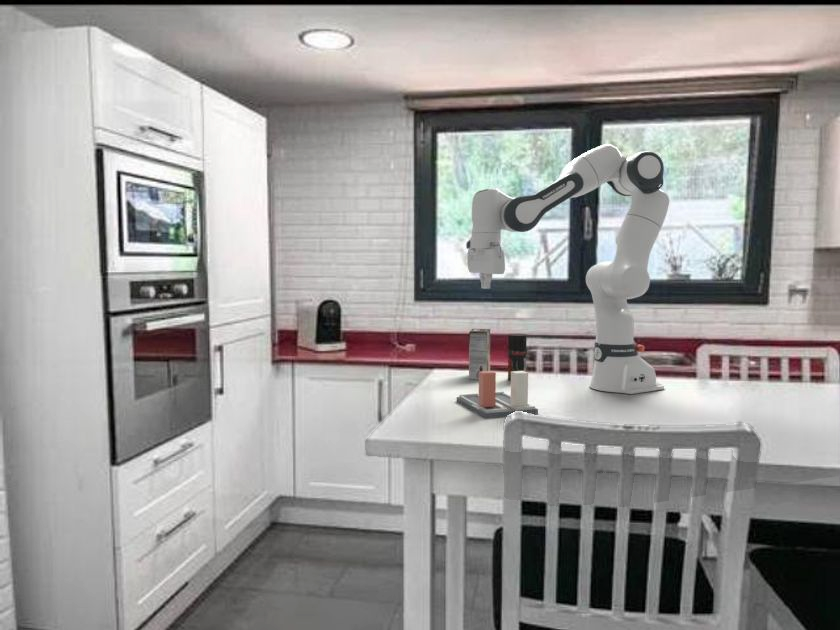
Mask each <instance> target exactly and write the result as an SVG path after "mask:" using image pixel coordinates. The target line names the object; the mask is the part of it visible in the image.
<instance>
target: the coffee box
mask: <svg viewBox="0 0 840 630" xmlns="http://www.w3.org/2000/svg"><path fill="white" fill-rule="evenodd" d="M468 334H469V335H468V359H469V360H468V379H469V380H479V371H491V328H472V329H471V330H469V332H468Z"/></svg>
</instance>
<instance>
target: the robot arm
mask: <svg viewBox="0 0 840 630" xmlns="http://www.w3.org/2000/svg"><path fill="white" fill-rule="evenodd" d="M664 169H665V168H664V162H663V160H662V158H661V157H660V155H659V154H658V153H655V152H653V151H640V152H636V153H635V154H633V155H632V156H629V157H625V156H623V155H622V154H621V151H620V150H619V149H618V147H616V146H614V145H612V144H603V145H600V146H597V147H595V148H591V149H590V150H587V152H586V151H585V152H584V153H582V154H581V155H579V156H577V157H575V158H574V159H573V160H571V161H569V162H567V164H566V165H565V166H564V167H562V169H561V170H560V172H559V176H558V178H557V179H555V181H554V182H552V183H550V184H549V185H547V186H545V187H543V188H542V189H541V190H539V191H537V192H536V193H534V194H531V195H521V196H518V197H515V198H514V197H511V196H509V195H507V194H505V193H503V192H502V191H501V190H500V189H499V188H497V187H493V188H485V189H482V190H478V191H477V192H476V193H475V194H474V195H473V197H472V203H471V204H472V205H471V222H472V229H471V236H470V238H469V239H468V240H467V241H466V245H465V248H466V249H467V256H466V257H467V269H468V271H469V273H471V274H472V273H473V274H478V275H479V276H478V277H479V280H480V283H481V284H480V285H481V287H480V288H481V289H485V290H486V289H488V290H489V289H491V282H492V280H493V275H504V274H505V271H506V261H505V252H504V250H503V248H502V244H501V242H502V240H501V238H502V237H501V236H502V233H501V232H502V230H504V231H507V232H511V233H517V232H518V233H521V232H522V233H526V232H528V231H531V230H533V229H534V228H535V227H536V226H537V225H538V223H539V222H540V221H541V219H542V218H543V216H545V214H546V213H548V212H549V211H551V210H552V209H554V208H556V207H557V206H559V205H560V204H562V203H563V202H565V201H568V200H569V199H571V198H578V197H581V196H584V195H586V194H588V193H590V192H592V191H595V189H598V188H599V187H600V186H602V185H603V184H608V185H609V186H610V187H611V188H612V190H613V191H614V192H615V193H616V194H618V196H623V197H631V202H630V207H629V209H628V211H627V212H626V215H625V216H624V219H623V222H622V223H621V225H620V227H619V230H618V232H617V234H616V236H615V244H616V252H615V255H614V259H613V261H603V262H599V263H597V264H595V265H592V266H591V267H590V268H589V269H588V270H587V272H586V275H585V283H586V286H587V288H588V289H589V291H590V294H591V297H592V302H593V306H594V311H595V320H596V322H595V323H596V324H595V327H596V328H595V341H594V349H593V355H594V363H593V364H594V365H593V371H592V377H591V380H590V383H589V388H591V389H592V390H593V389H594V390H596V391H602V392H607V393H608V392H609V393H621V394H629V395H634V394H641V393H646V392H652V391H653V392H655V391H660V390H664V389H665V386H664V385H663V383H660V382H657V377H656V376H657V374H656V370H655V368H654V367H653V366H652V365H651V364H650V363H648V361H646V360H644V359H643V358H642V357H641V356H639V353H638V352H642V353H643V352H644V351H645V349H646V348H645V345H643V344H636V343H635V342H634V333H635V331H634V329H635V328H634V327H635V319H634V316H633V314H632V313H631V311H630V309H629V305H628V301H627V300H632V299H636V298H639V297H641V296H643V295H644V294H646V292H648V290H649V287H650V283H651V278H650V273H649V271H648V265H649V261H650V256H651V251H652V249H653V248H654V244H655V243H656V241H657V237H658V235H659V233H660V231H661V230H662V226H663V224H664V222H665V219H666V217H667V214H668V213H667V212H668V211H669V210H668V209H669V205H670V198H669V195H668V194H667V193H666V192H665V191H664V190H662V189H661V188H662V187H663V185H664V172H665V171H664Z"/></svg>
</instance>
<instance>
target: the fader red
mask: <svg viewBox="0 0 840 630" xmlns="http://www.w3.org/2000/svg"><path fill="white" fill-rule="evenodd" d="M496 374H497V373H496V372H495V371H492V370H490V371H479V379H478V395H479V405H480V406H482V407H493V406H495V393H496V392H497V391H496V388H497V387H496V383H497V382H496V380H497V379H496V378H497V375H496Z"/></svg>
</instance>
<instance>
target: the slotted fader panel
mask: <svg viewBox="0 0 840 630" xmlns="http://www.w3.org/2000/svg"><path fill="white" fill-rule="evenodd" d="M456 402H457V403H458V404H461V405H462V406H463V407H466V408H467V409H469V410H471V411H472V412H474V413H476V414H477V415H479V416H480V417H482V418H484V419H494V418H503V417H504V418H505V416H506V417H508V416H507V415H509V414H511V413H513V412H515V411H523V412H527V413H532V414H531V415H538V414H539V409H538V408H537V407H536V406H535V405H531V404H529V403H528V406H526V407H514V406H512V405H511V394H508V393H506V392H505V391H496V393H495V406H493V407H482V406H480V405H479V392H478V393H465V394H459V396H456Z"/></svg>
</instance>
